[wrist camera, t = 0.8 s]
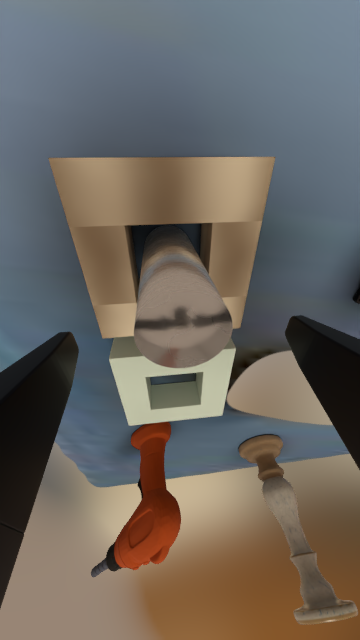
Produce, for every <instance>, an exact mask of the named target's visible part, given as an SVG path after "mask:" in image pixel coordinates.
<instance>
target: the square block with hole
mask: <svg viewBox="0 0 360 640" xmlns="http://www.w3.org/2000/svg"><path fill="white" fill-rule="evenodd" d="M235 350H236V348H235V345H234V343H233V341H232V339H231V337H230V339H229V341H228V343H227V345H226V346H225V347H224V349H223V350H222V351H221V352H220V353H219V354H218V355H216V356H215V357H214V358H212V359H211V360H209V361H207V362H205V363H203V364H200V365H197V366H193V367H188V368H169V367H164V366H161V365H158V364H155V363H153V362H152V361H150V360H148V359H147V358H146V357H145V356H144V355H143V354H142V353H141V352H140V351H139V349H138V348H137V345H136V343H135V340H134V336H127V337H114V340H113V344H112V348H111V353H110V357H109V361H110V364H111V367H112V371H113V374H114V377H115V381H116V384H117V387H118V391H119V394H120V397H121V401H122V404H123V407H124V411H125V414H126V417H127V420H128V424H129V426H131V425H140V424H149V423H158V422H167V421H176V420H185V419H194V418H204V417H213V416H222V414H223V409H224V404H225V399H226V394H227V389H228V384H229V380H230V375H231V370H232V365H233V360H234V355H235ZM186 373H196V381H191V382H180V383H170V384H159V385H151V382H150V377H153V376H164V375H175V374H186Z"/></svg>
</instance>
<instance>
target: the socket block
mask: <svg viewBox="0 0 360 640" xmlns="http://www.w3.org/2000/svg"><path fill="white" fill-rule="evenodd" d="M274 161H275V157H141V158H49V162H50V165H51V168H52V172H53V175H54V178H55V182H56V185H57V188H58V192H59V195H60V198H61V202H62V205H63V208H64V212H65V215H66V218H67V221H68V225H69V228H70V231H71V235H72V238H73V241H74V245H75V248H76V251H77V255H78V258H79V261H80V265H81V268H82V271H83V275H84V278H85V281H86V284H87V288H88V291H89V294H90V298H91V301H92V304H93V308H94V311H95V314H96V318H97V321H98V324H99V328H100V331H101V334H102V338H114V337H127V336H134V325H135V317H136V308H137V300H138V292H139V280H138V273H137V265H136V258H135V251H134V244H133V236H132V229H131V225H154V224H186V223H202V225H201V245H200V260H201V261H202V263H203V265H204V267H205V269H206V270H207V272H208V274H209V276H210V278H211V279H212V281H213V283H214V285H215V287H216V288H217V290H218V292H219V294H220V296H221V298H222V299H223V301H224V303H225V305H226V307H227V308H228V310H229V312H230V314H231V317H232V323H233V328H232V329H234V328H240V326H241V321H242V316H243V312H244V307H245V302H246V297H247V292H248V287H249V282H250V278H251V273H252V268H253V263H254V258H255V253H256V248H257V244H258V239H259V234H260V229H261V224H262V219H263V214H264V210H265V205H266V200H267V195H268V190H269V185H270V180H271V176H272V171H273V166H274Z"/></svg>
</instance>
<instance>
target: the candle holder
mask: <svg viewBox="0 0 360 640" xmlns="http://www.w3.org/2000/svg"><path fill="white" fill-rule="evenodd" d="M282 446H283V443H282V440H281V439H280V438H279V437H278V436H275V435H262V436H257V437H254V438H251V439H249V440H247V441H245V442H244V443H243V444H242V445H241V446H240V447H239V453H240V456H241V457H242V458H244V459H247V461H249V462H250V463H257V465H258V467H259V474H258V478H259V479H260V480H262V481H263V482H264V484H263V487H262V494H263V498H264V500H265V502H266V504H267V505H268V507H269V509H270V510H271V511H272V513H273V514H274V515H275V516H276V518H277V519H278V521H279V523H280V525H281V527H282V529H283V531H284V534H285V536H286V539H287V541H288V544H289V546H290V550H291V556H290V560H291V561H292V562H293V563H294V565H295V566H296V567H297V569H298V570H299V573H300V577H301V588H300V592H301V595H302V597H303V600H304V605H303V606H302V607H301V608H299V609H296V610H295V611H294V616H295V618H296V620H297V622H298V623H299V624H318V623H326V622H332V621H338V620H343V619H347V618H351V617H354V616H356V615H357V614H358V611H357V608H356V605H355V603H354V602H353V601H343V600H340V599H338V598H337V597H336V595H335V593H334V590H333V587H332V585H331V584H330V583H328V582H327V581H326V580H325V579H324V577H323V576H322V575H321V573H320V571H319V569H318V567H317V554H316V552H315V551H312V550H311V548H310V546H309V544H308V542H307V540H306V537H305V535H304V532H303V530H302V527H301V524H300V521H299V516H298V509H297V499H296V494H295V491H294V489H293V487H292V485H291V484H290V483H289V482H288V481H287V480H285V479H284V478H283V474H284V470H283V469H282V468H280V467H279V465H278V464H277V463H276V461H275V458H276V457H278V456H279V454H280V449H281V448H282Z"/></svg>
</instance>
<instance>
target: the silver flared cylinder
mask: <svg viewBox="0 0 360 640" xmlns="http://www.w3.org/2000/svg"><path fill="white" fill-rule="evenodd" d="M232 328H233V323H232V317H231V314H230V312H229V310H228V308H227V307H226V305H225V303H224V301H223V299H222V298H221V296H220V294H219V292H218V290H217V288H216V287H215V285H214V283H213V281H212V279H211V278H210V276H209V274H208V272H207V270H206V269H205V267H204V265H203V263H202V261H201V260H200V258H199V256H198V254H197V252H196V251H195V249H194V247H193V245H192V243H191V241H190V240H189V238H188V236H187V235H186V234H185V233H184V232H183V231H182V230H181V229H179V228H177V227H175V226H169V225H166V226H161V227H158V228H156V229H154V230H153V231H152V232H151V233H150V234H149V235H148V237H147V238H146V241H145V244H144V250H143V259H142V267H141V275H140V283H139V292H138V300H137V308H136V317H135V325H134V340H135V343H136V345H137V348H138V349H139V351H140V352H141V353H142V354H143V355H144V356H145V357H146V358H147V359H148V360H150V361H152V362H153V363H155V364H158V365H161V366H164V367H169V368H188V367H193V366H197V365H200V364H203V363H205V362H207V361H209V360H211V359H212V358H214V357H215V356H216V355H218V354H219V353H220V352H221V351H222V350H223V349H224V347H225V346H226V345H227V343H228V341H229V339H230V337H231V334H232Z"/></svg>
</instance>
